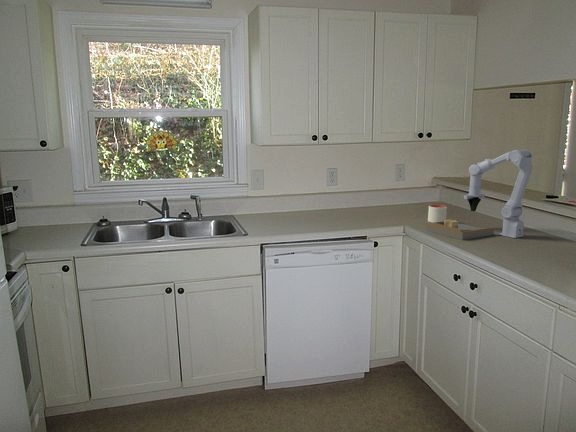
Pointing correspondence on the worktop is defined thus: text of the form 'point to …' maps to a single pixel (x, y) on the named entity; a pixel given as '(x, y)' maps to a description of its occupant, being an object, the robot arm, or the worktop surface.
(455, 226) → the block
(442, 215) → the cup
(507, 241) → the worktop surface
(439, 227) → the trap board
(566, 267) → the worktop surface
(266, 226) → the worktop surface
